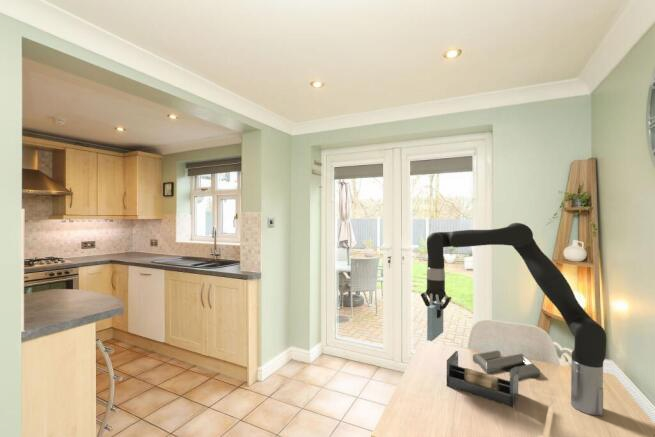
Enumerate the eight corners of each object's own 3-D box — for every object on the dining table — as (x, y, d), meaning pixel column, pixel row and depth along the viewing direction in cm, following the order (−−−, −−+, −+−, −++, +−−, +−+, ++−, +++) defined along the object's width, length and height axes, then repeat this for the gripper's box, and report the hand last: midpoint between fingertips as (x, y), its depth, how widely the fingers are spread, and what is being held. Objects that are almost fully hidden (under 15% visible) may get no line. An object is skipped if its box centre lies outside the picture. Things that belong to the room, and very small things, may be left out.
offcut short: (492, 396, 125) (492, 380, 125) (491, 398, 124) (491, 383, 124) (468, 388, 131) (468, 373, 131) (466, 390, 129) (466, 375, 129)
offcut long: (498, 394, 126) (498, 377, 126) (496, 397, 124) (497, 379, 124) (465, 384, 134) (466, 368, 134) (464, 386, 132) (464, 369, 132)
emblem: (479, 341, 171) (542, 355, 154) (479, 351, 171) (542, 366, 154) (465, 360, 149) (537, 378, 132) (465, 371, 149) (537, 391, 132)
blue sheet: (431, 341, 136) (431, 308, 136) (427, 340, 137) (427, 307, 137) (443, 332, 146) (443, 301, 146) (438, 331, 148) (439, 300, 148)
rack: (518, 397, 127) (518, 367, 127) (512, 411, 118) (513, 379, 118) (455, 377, 142) (455, 350, 142) (446, 389, 133) (446, 360, 133)
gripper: (417, 277, 143) (417, 316, 143) (448, 281, 134) (448, 322, 134) (423, 274, 149) (423, 312, 149) (454, 278, 140) (454, 318, 140)
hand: (435, 317), depth 142 cm, fingers closed on blue sheet, 2 cm apart
